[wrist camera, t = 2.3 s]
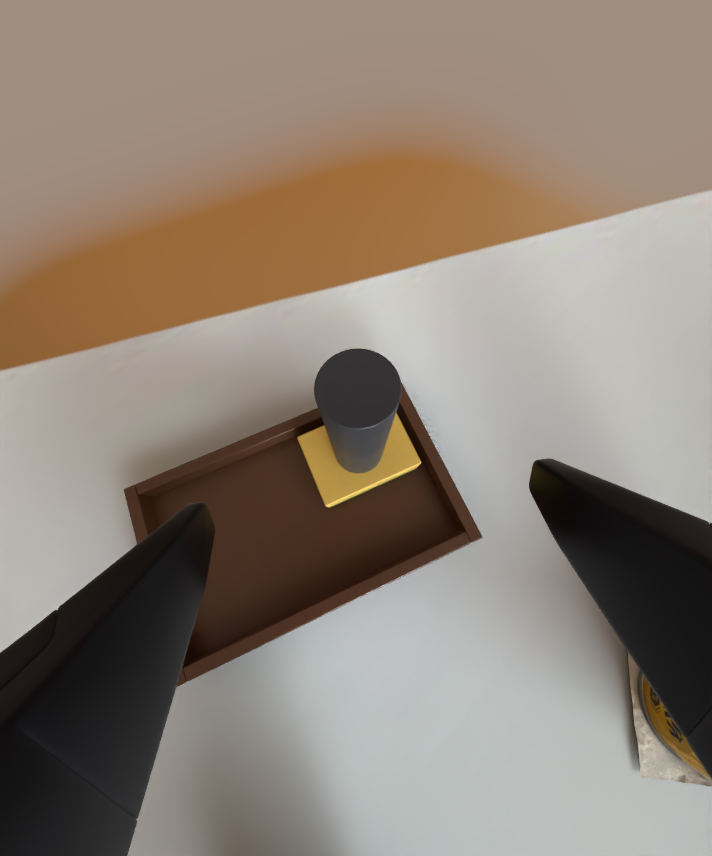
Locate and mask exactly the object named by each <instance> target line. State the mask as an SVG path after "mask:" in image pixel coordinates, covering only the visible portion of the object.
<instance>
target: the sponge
mask: <svg viewBox="0 0 712 856" xmlns="http://www.w3.org/2000/svg"><path fill="white" fill-rule="evenodd" d="M401 392H402V387H401V380H400V377H399V375H398V372H397V370H396V369H395V367H394V366H393V365H392V363H391V362H390V361H389V360H387V359H386V358H385V357H384V356H382V355H380V354H379V353H376V352H374V351H371V350H367V349H349V350H345V351H342V352H340V353H338V354H336V355H334V356H332V357H331V358H330V359H328V360H327V361H326V362H325V363H324V364H323V366H322V367H321V369H320V370H319V372H318V374H317V377H316V380H315V385H314V394H315V399H316V402H317V405H318V408H319V411H320V414H321V417H322V420H323V422H324V426H322V427H319V428H317V429H314V430H312V431H310V432H307V433H305V434H303V435H300V436H298V437H297V439H298V441H299V443H300V446H301V448H302V451H303V453H304V456H305V458H306V460H307V463H308V465H309V468H310V470H311V473H312V475H313V478H314V480H315V482H316V485H317V487H318V490H319V492H320V495H321V497H322V499H323V502H324V504H325V506H326V507H328V508H332V507H334V506H336V505H339V504H341V503H343V502H345V501H347V500H350V499H352V498H354V497H356V496H358V495H361V494H363V493H365V492H367V491H369V490H372V489H374V488H376V487H378V486H380V485H383V484H385V483H387V482H389V481H391V480H394V479H396V478H398V477H400V476H402V475H405V474H407V473H409V472H411V471H413V470H415V469H416V468H417V467H418V466H419V465H420V464H421V460H420V458H419V457H418V455H417V453H416V451H415V449H414V447H413V445H412V443H411V441H410V439H409V437H408V435H407V433H406V431H405V429H404V427H403V425H402V423H401V421H400V419H399V417H398V415H397V413H396V411H397V408H398V405H399V402H400V398H401Z"/></svg>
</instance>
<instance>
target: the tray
mask: <svg viewBox="0 0 712 856" xmlns="http://www.w3.org/2000/svg"><path fill="white" fill-rule="evenodd" d="M401 387H402V392H401V398H400V402H399V405H398V408H397V411H396V413H397V415H398V417H399V419H400V421H401V423H402V425H403V427H404V429H405V431H406V433H407V435H408V437H409V439H410V441H411V443H412V445H413V447H414V449H415V451H416V453H417V455H418V457H419V458H420V460H421V464H420V465H419V466H418V467H417V468H416V469H415V470H413V471H411V472H409V473H407V474H405V475H402V476H400V477H398V478H396V479H394V480H391V481H389V482H387V483H385V484H383V485H380V486H378V487H376V488H374V489H372V490H369V491H367V492H365V493H363V494H361V495H358V496H356V497H354V498H352V499H350V500H347V501H345V502H343V503H341V504H339V505H336V506H334V507H332V508H328V507H326V506H325V504H324V502H323V499H322V497H321V495H320V492H319V490H318V487H317V485H316V482H315V480H314V478H313V475H312V473H311V470H310V468H309V465H308V463H307V460H306V458H305V456H304V453H303V451H302V448H301V446H300V443H299V441H298V439H297V437H298V436H300V435H303V434H305V433H307V432H310V431H312V430H314V429H317V428H319V427H322V426H324V422H323V420H322V417H321V414H320V411H319V408H317V409H314V410H312V411H310V412H307V413H305V414H302V415H300V416H298V417H295V418H293V419H291V420H288V421H286V422H283V423H281V424H279V425H276V426H274V427H271V428H269V429H267V430H264V431H262V432H260V433H257V434H255V435H252V436H250V437H248V438H245V439H243V440H240V441H238V442H236V443H233V444H231V445H228V446H226V447H224V448H221V449H219V450H217V451H214V452H212V453H209V454H207V455H205V456H202V457H200V458H197V459H195V460H193V461H190V462H188V463H186V464H183V465H181V466H178V467H176V468H174V469H171V470H169V471H166V472H164V473H162V474H159V475H157V476H155V477H152V478H150V479H147V480H145V481H143V482H140V483H138V484H136V485H133V486H131V487H128V488H126V489H124V492H125V496H126V500H127V504H128V508H129V512H130V516H131V520H132V524H133V528H134V532H135V536H136V540H137V544H139V543H140V542H141V541H142V540H144V539H145V538H146V537H147V536H149V535H150V534H151V533H152V532H154V531H155V530H156V529H157V528H159V527H160V526H161V525H162V524H164V523H165V522H166V521H167V520H169V519H170V518H171V517H172V516H174V515H175V514H176V513H178V512H179V511H180V510H181V509H183V508H184V507H185V506H186V505H188V504H191V503H199V502H203V503H205V504H206V505H207V507H208V510H209V512H210V515H211V517H212V520H213V522H214V525H215V536H214V542H213V548H212V553H211V559H210V565H209V570H208V576H207V581H206V586H205V590H204V594H203V597H202V601H201V604H200V608H199V611H198V614H197V618H196V621H195V625H194V628H193V631H192V635H191V638H190V642H189V645H188V648H187V652H186V655H185V659H184V662H183V666H182V669H181V672H180V676H179V679H178V683H177V686H176V687H178V686H180V685H182V684H184V683H186V682H187V681H190V680H192V679H194V678H196V677H198V676H200V675H202V674H204V673H206V672H208V671H210V670H213V669H215V668H217V667H219V666H221V665H223V664H225V663H227V662H229V661H231V660H233V659H235V658H237V657H239V656H241V655H243V654H245V653H247V652H249V651H251V650H253V649H255V648H258V647H260V646H262V645H264V644H266V643H268V642H270V641H272V640H274V639H276V638H278V637H280V636H282V635H284V634H286V633H288V632H290V631H292V630H294V629H296V628H298V627H300V626H303V625H305V624H307V623H309V622H311V621H313V620H315V619H317V618H319V617H321V616H323V615H325V614H327V613H329V612H331V611H333V610H335V609H337V608H339V607H341V606H343V605H345V604H348V603H350V602H352V601H354V600H356V599H358V598H360V597H362V596H364V595H366V594H368V593H370V592H372V591H374V590H376V589H378V588H380V587H382V586H384V585H386V584H388V583H390V582H393V581H395V580H397V579H399V578H401V577H403V576H405V575H407V574H409V573H411V572H413V571H415V570H417V569H419V568H421V567H423V566H425V565H427V564H429V563H431V562H433V561H435V560H438V559H440V558H442V557H444V556H446V555H448V554H450V553H452V552H454V551H456V550H458V549H460V548H462V547H464V546H466V545H468V544H470V543H471V542H472V543H473V542H475V541H477V540H479V539H481V538H482V535H481V533H480V531H479V530H478V528H477V526H476V524H475V522H474V520H473V518H472V516H471V514H470V512H469V510H468V509H467V507H466V505H465V503H464V501H463V499H462V497H461V495H460V493H459V491H458V490H457V488H456V486H455V484H454V482H453V480H452V478H451V476H450V474H449V472H448V470H447V469H446V467H445V465H444V463H443V461H442V459H441V457H440V455H439V453H438V451H437V449H436V448H435V446H434V444H433V442H432V440H431V438H430V436H429V434H428V432H427V430H426V429H425V427H424V425H423V423H422V421H421V419H420V417H419V415H418V413H417V411H416V409H415V408H414V406H413V404H412V402H411V400H410V398H409V396H408V394H407V392H406V390H405V388H404V387H403V385H402V383H401Z"/></svg>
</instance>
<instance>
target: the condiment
mask: <svg viewBox="0 0 712 856" xmlns="http://www.w3.org/2000/svg"><path fill="white" fill-rule="evenodd" d="M628 665H629V675H630V688H631V695H632V706H633V715H634V724H635V730H636V738H637V740H638V752H639V761H640V773H641V777H644V778H652V779H661V780H670V781H678V782H683V783H694V784H701V785H706V786H712V779H711V778H710V776H709V775H708V773H707V772H706V770H705V769H704V767H703V766H702V764H701V763H700V761H699V760H698V758H697V757H696V755H695V754H694V752H693V750H692V749H691V747H690V746H689V744H688V743H687V741H686V737H684V736H683V735H682V733H681V732H680V730H679V729H678V727H677V726H676V724H675V722H674V721H673V719H672V718H671V716H670V715H669V713H668V712H667V710H666V709H665V707H664V706H663V704H662V703H661V701H660V700H659V698H658V697H657V695H656V693H655V692H654V690H653V689H652V687H651V686H650V684H649V683H648V681H647V680H646V678H645V677H644V675H643V674H642V672H641V671H640V669H639V668H638V666H637V664H636V663H635V661H634V660H633V658H632V657H631V655H630V654H629V652H628Z"/></svg>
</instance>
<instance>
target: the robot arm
mask: <svg viewBox="0 0 712 856" xmlns="http://www.w3.org/2000/svg"><path fill="white" fill-rule="evenodd" d="M529 489H530V492H531V494H532V496H533V498H534V500H535V502H536V504H537V506H538V508H539V510H540V512H541V514H542V516H543V518H544V520H545V522H546V524H547V525H548V527H549V529H550V531H551V533H552V535H553V537H554V539H555V540H556V542H557V544H558V545H559V547H560V548H561V550H562V551H563V553H564V555H565V556H566V558H567V559H568V561H569V562H570V564H571V565H572V567H573V568H574V570H575V571H576V573H577V574H578V576H579V577H580V579H581V580H582V582H583V584H584V585H585V587H586V588H587V590H588V591H589V593H590V594H591V596H592V597H593V599H594V600H595V602H596V603H597V605H598V606H599V608H600V609H601V611H602V613H603V614H604V616H605V617H606V619H607V620H608V622H609V623H610V625H611V626H612V628H613V629H614V631H615V632H616V634H617V635H618V637H619V638H620V640H621V642H622V643H623V645H624V646H625V648H626V649H627V651H628V652H629V654H630V655H631V657H632V658H633V660H634V661H635V663H636V664H637V666H638V668H639V669H640V671H641V672H642V674H643V675H644V677H645V678H646V680H647V681H648V683H649V684H650V686H651V687H652V689H653V690H654V692H655V693H656V695H657V697H658V698H659V700H660V701H661V703H662V704H663V706H664V707H665V709H666V710H667V712H668V713H669V715H670V716H671V718H672V719H673V721H674V722H675V724H676V726H677V727H678V729H679V730H680V732H681V733H682V735H683V736H684V737H686V741H687V743H688V744H689V746H690V747H691V749H692V750H693V752H694V754H695V755H696V757H697V758H698V760H699V761H700V763H701V764H702V766H703V767H704V769H705V770H706V772H707V773H708V775H709V776H710V778H711V779H712V523H710V524H709V523H708V522H707V521H705V520H702V519H700V518H698V517H695V516H693V515H690V514H688V513H685V512H683V511H680V510H678V509H675V508H673V507H670V506H668V505H665V504H663V503H660V502H658V501H655V500H653V499H650V498H648V497H645V496H643V495H640V494H638V493H635V492H633V491H630V490H628V489H625V488H623V487H620V486H618V485H615V484H613V483H610V482H608V481H606V480H603V479H601V478H598V477H596V476H593V475H591V474H588V473H586V472H583V471H581V470H578V469H576V468H573V467H571V466H568V465H566V464H563V463H561V462H558V461H556V460H553V459H541V460H536V461H535V462H534V463H533V466H532V471H531V477H530V482H529ZM214 536H215V525H214V522H213V520H212V517H211V515H210V512H209V510H208V507H207V505H206V504H205V503H203V502H199V503H191V504H188V505H186V506H185V507H184V508H183V509H181V510H180V511H179V512H178V513H176V514H175V515H174V516H172V517H171V518H170V519H169V520H167V521H166V522H165V523H164V524H162V525H161V526H160V527H159V528H157V529H156V530H155V531H154V532H152V533H151V534H150V535H149V536H147V537H146V538H145V539H144V540H142V541H141V542H140V543H139V544H137V545H136V546H135V547H134V548H132V549H131V550H130V551H129V552H127V553H126V554H125V555H124V556H122V557H121V558H120V559H119V560H117V561H116V562H115V563H114V564H112V565H111V566H110V567H109V568H107V569H106V570H105V571H104V572H102V573H101V574H100V575H99V576H97V577H96V578H95V579H94V580H92V581H91V582H90V583H89V584H87V585H86V586H85V587H84V588H82V589H81V590H80V591H79V592H77V593H76V594H75V595H73V596H72V597H71V598H70V599H68V600H67V601H66V602H65V603H63V604H62V605H61V606H60V607H59V608H58V610H55V611H53V612H52V613H51V614H50V615H48V616H47V617H46V618H45V619H43V620H42V621H41V622H40V623H38V624H37V625H36V626H35V627H33V628H32V629H31V630H29V631H28V632H27V633H26V634H24V635H23V636H22V637H20V638H19V639H18V640H17V641H15V642H14V643H13V644H11V645H10V646H9V647H8V648H6V649H5V650H4V651H2V652H1V653H0V856H127V854H128V851H129V847H130V844H131V841H132V837H133V834H134V830H135V827H136V824H137V820H136V819H137V818H138V816H139V812H140V809H141V805H142V802H143V799H144V795H145V792H146V788H147V785H148V782H149V778H150V775H151V771H152V768H153V764H154V761H155V758H156V754H157V751H158V747H159V744H160V741H161V737H162V734H163V730H164V727H165V724H166V720H167V717H168V713H169V710H170V706H171V703H172V700H173V696H174V693H175V689H176V686H177V683H178V679H179V676H180V672H181V669H182V666H183V662H184V659H185V655H186V652H187V648H188V645H189V642H190V638H191V635H192V631H193V628H194V625H195V621H196V618H197V614H198V611H199V608H200V604H201V601H202V597H203V594H204V590H205V586H206V581H207V576H208V570H209V565H210V559H211V553H212V548H213V542H214Z"/></svg>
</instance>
